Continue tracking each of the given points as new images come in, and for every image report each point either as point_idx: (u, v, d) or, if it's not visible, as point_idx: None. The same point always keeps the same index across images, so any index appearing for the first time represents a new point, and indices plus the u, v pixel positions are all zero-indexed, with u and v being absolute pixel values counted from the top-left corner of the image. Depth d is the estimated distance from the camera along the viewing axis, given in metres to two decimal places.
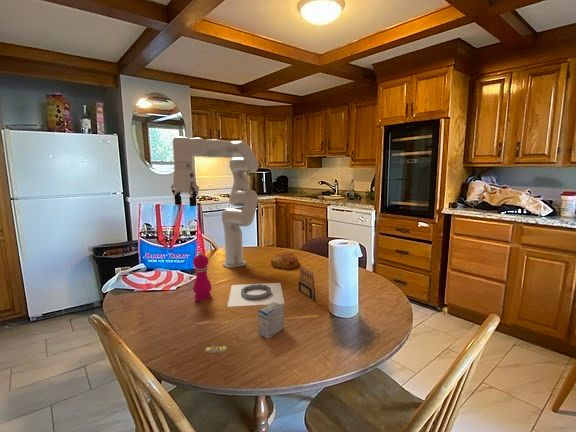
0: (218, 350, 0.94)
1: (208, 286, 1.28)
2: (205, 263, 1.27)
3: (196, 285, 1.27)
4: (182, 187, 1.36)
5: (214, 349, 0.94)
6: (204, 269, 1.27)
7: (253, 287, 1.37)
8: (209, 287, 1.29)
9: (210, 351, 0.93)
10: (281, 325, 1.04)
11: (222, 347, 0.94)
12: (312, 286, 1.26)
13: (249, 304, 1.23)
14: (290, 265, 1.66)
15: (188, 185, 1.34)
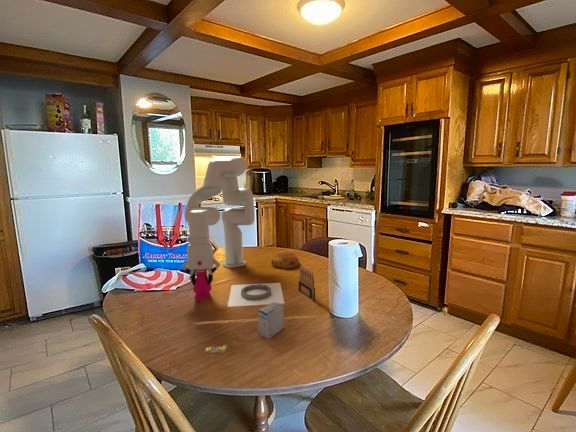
0: (218, 350, 0.94)
1: (208, 286, 1.28)
2: None
3: (196, 285, 1.27)
4: None
5: (214, 349, 0.94)
6: (204, 269, 1.27)
7: (253, 287, 1.37)
8: (209, 287, 1.29)
9: (210, 351, 0.93)
10: (281, 325, 1.04)
11: (222, 347, 0.94)
12: (312, 286, 1.26)
13: (249, 304, 1.23)
14: (290, 265, 1.66)
15: None
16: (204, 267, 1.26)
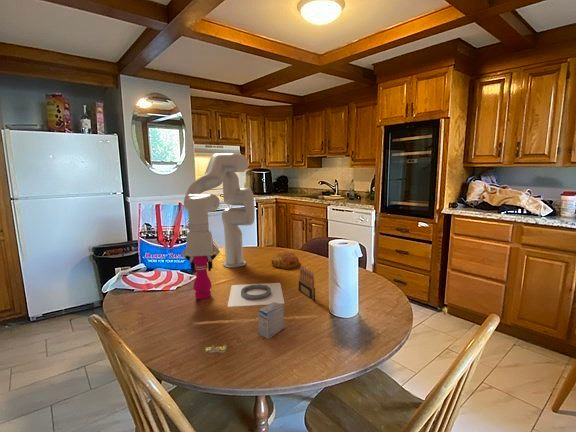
0: (218, 350, 0.94)
1: (208, 284, 1.28)
2: (205, 261, 1.27)
3: (196, 282, 1.27)
4: None
5: (214, 349, 0.94)
6: (204, 267, 1.27)
7: (253, 287, 1.37)
8: (209, 285, 1.29)
9: (210, 351, 0.93)
10: (281, 325, 1.04)
11: (222, 347, 0.94)
12: (312, 286, 1.26)
13: (249, 304, 1.23)
14: (290, 265, 1.66)
15: None
16: (204, 254, 1.25)
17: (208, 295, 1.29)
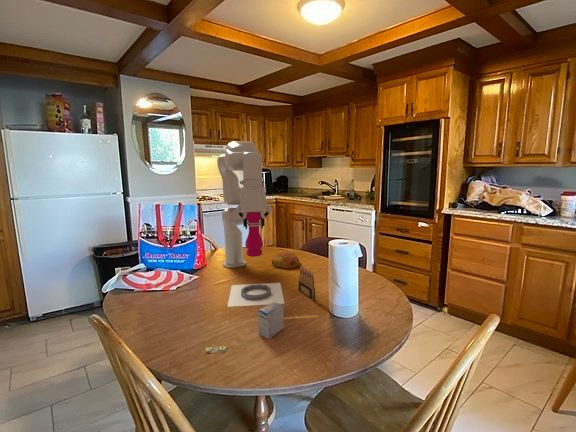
0: (218, 350, 0.94)
1: (260, 242, 1.27)
2: (259, 217, 1.25)
3: (249, 239, 1.26)
4: None
5: (214, 349, 0.94)
6: (257, 224, 1.26)
7: (253, 287, 1.37)
8: (261, 243, 1.27)
9: (210, 351, 0.93)
10: (281, 325, 1.04)
11: (222, 347, 0.94)
12: (312, 286, 1.26)
13: (249, 304, 1.23)
14: (291, 265, 1.66)
15: None
16: (258, 210, 1.24)
17: (260, 253, 1.28)
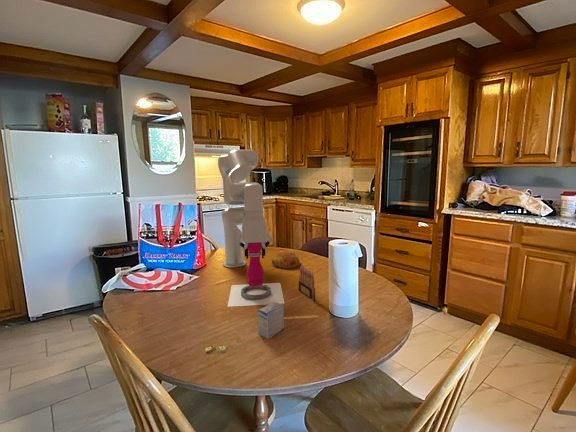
0: (218, 350, 0.94)
1: (261, 271, 1.29)
2: (259, 248, 1.27)
3: (250, 269, 1.28)
4: None
5: None
6: (258, 254, 1.28)
7: (253, 287, 1.37)
8: (262, 272, 1.29)
9: None
10: (281, 325, 1.04)
11: (222, 347, 0.94)
12: (312, 286, 1.26)
13: (249, 304, 1.23)
14: (291, 265, 1.67)
15: None
16: (259, 241, 1.26)
17: (261, 282, 1.29)
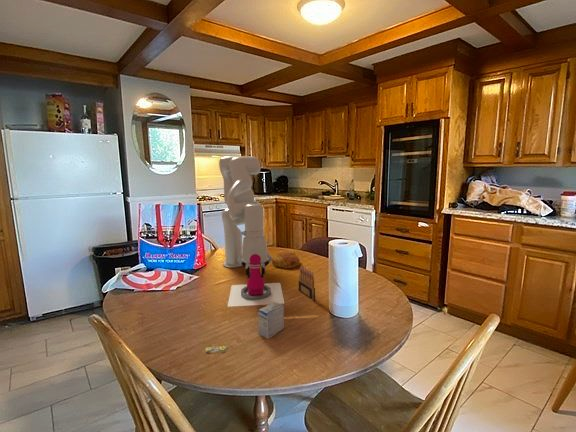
0: (218, 350, 0.94)
1: (262, 283, 1.29)
2: (260, 259, 1.28)
3: (250, 281, 1.28)
4: None
5: (214, 349, 0.95)
6: (259, 265, 1.28)
7: None
8: (263, 283, 1.30)
9: (210, 351, 0.93)
10: (281, 325, 1.04)
11: (222, 347, 0.94)
12: (312, 286, 1.26)
13: (249, 304, 1.23)
14: (291, 265, 1.67)
15: None
16: None
17: (261, 293, 1.30)
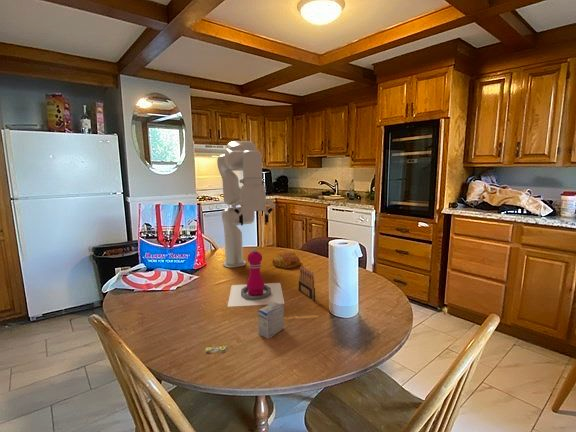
0: (218, 350, 0.94)
1: (262, 283, 1.29)
2: (260, 259, 1.28)
3: (250, 281, 1.28)
4: None
5: (214, 349, 0.95)
6: (258, 265, 1.28)
7: None
8: (263, 283, 1.30)
9: (210, 351, 0.93)
10: (281, 325, 1.04)
11: (222, 347, 0.94)
12: (312, 286, 1.26)
13: (249, 304, 1.23)
14: (291, 265, 1.67)
15: None
16: (258, 209, 1.25)
17: (261, 293, 1.30)
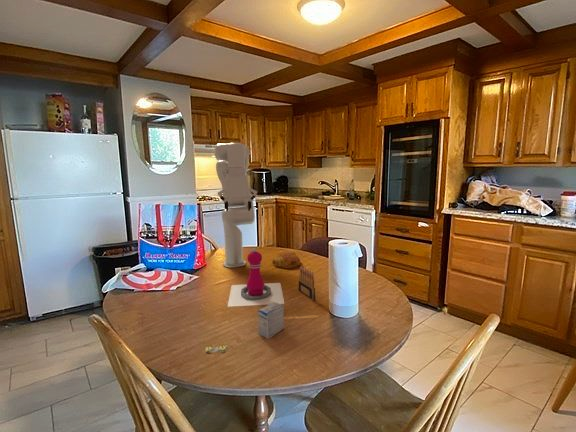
0: (218, 350, 0.94)
1: (262, 283, 1.29)
2: (259, 259, 1.28)
3: (250, 281, 1.28)
4: None
5: (214, 349, 0.95)
6: (258, 265, 1.28)
7: None
8: (263, 283, 1.30)
9: (210, 351, 0.93)
10: (281, 325, 1.04)
11: (222, 347, 0.94)
12: (312, 286, 1.26)
13: (249, 304, 1.23)
14: (291, 265, 1.67)
15: None
16: (241, 196, 1.37)
17: (261, 293, 1.30)
